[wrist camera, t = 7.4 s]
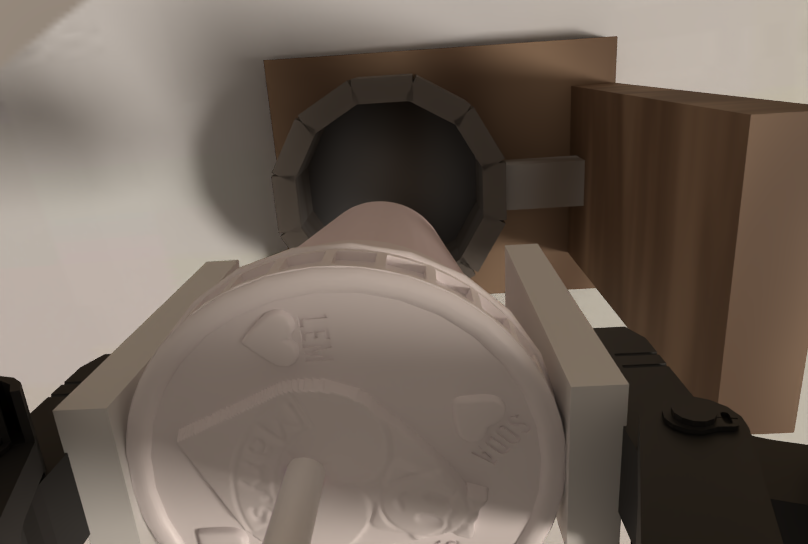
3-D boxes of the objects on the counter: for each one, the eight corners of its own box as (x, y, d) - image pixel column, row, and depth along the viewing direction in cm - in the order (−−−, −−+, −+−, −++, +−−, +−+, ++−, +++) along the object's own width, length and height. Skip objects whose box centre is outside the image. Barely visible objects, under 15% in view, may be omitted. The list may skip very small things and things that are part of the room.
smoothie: (299, 122, 17) (-157, 370, 3) (524, 190, 17) (895, 640, 4) (250, 330, 19) (-154, 994, 5) (452, 386, 19) (534, 1119, 6)
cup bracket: (300, 293, 33) (188, 521, 17) (270, 60, 30) (88, 60, 13) (597, 277, 33) (783, 497, 16) (607, 37, 29) (863, 6, 12)
